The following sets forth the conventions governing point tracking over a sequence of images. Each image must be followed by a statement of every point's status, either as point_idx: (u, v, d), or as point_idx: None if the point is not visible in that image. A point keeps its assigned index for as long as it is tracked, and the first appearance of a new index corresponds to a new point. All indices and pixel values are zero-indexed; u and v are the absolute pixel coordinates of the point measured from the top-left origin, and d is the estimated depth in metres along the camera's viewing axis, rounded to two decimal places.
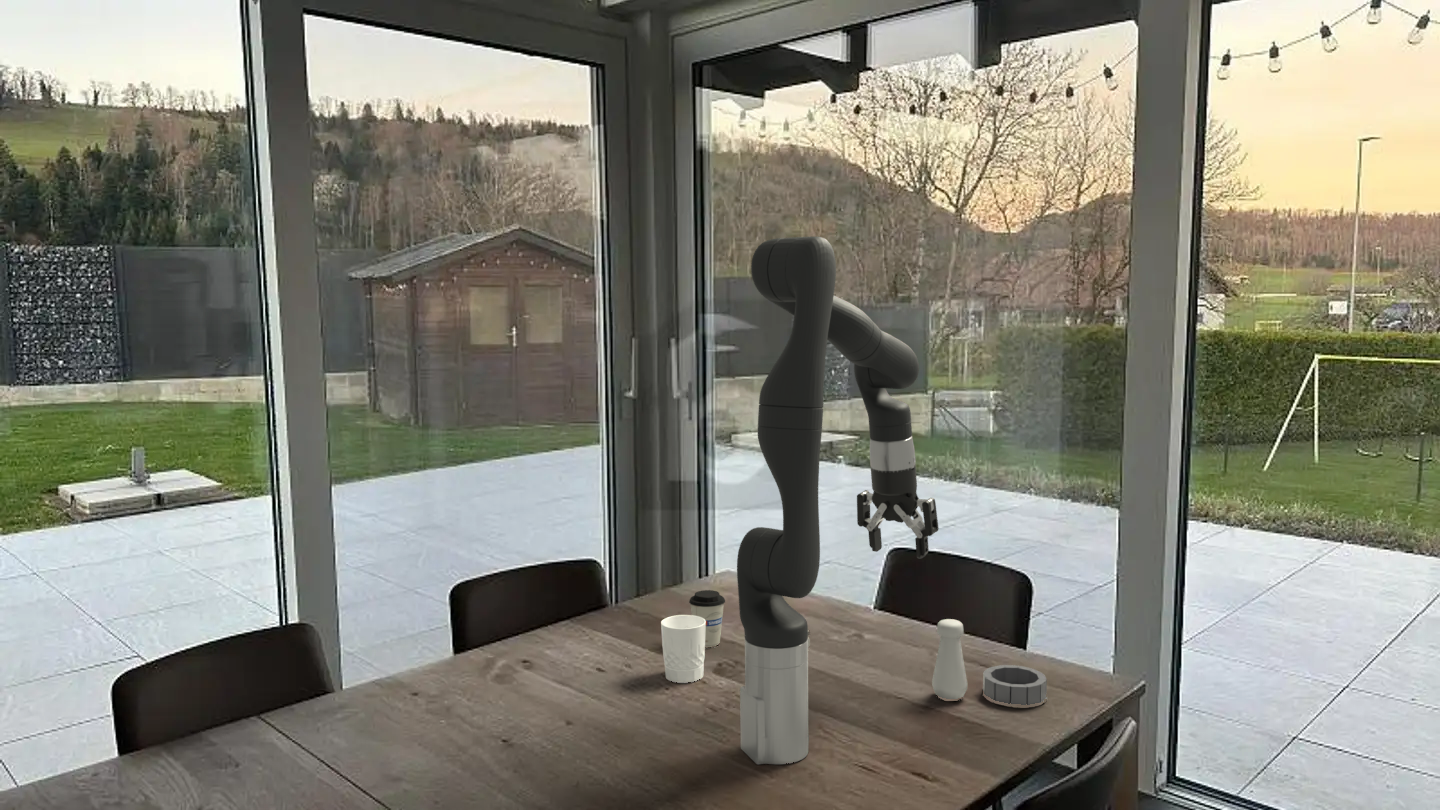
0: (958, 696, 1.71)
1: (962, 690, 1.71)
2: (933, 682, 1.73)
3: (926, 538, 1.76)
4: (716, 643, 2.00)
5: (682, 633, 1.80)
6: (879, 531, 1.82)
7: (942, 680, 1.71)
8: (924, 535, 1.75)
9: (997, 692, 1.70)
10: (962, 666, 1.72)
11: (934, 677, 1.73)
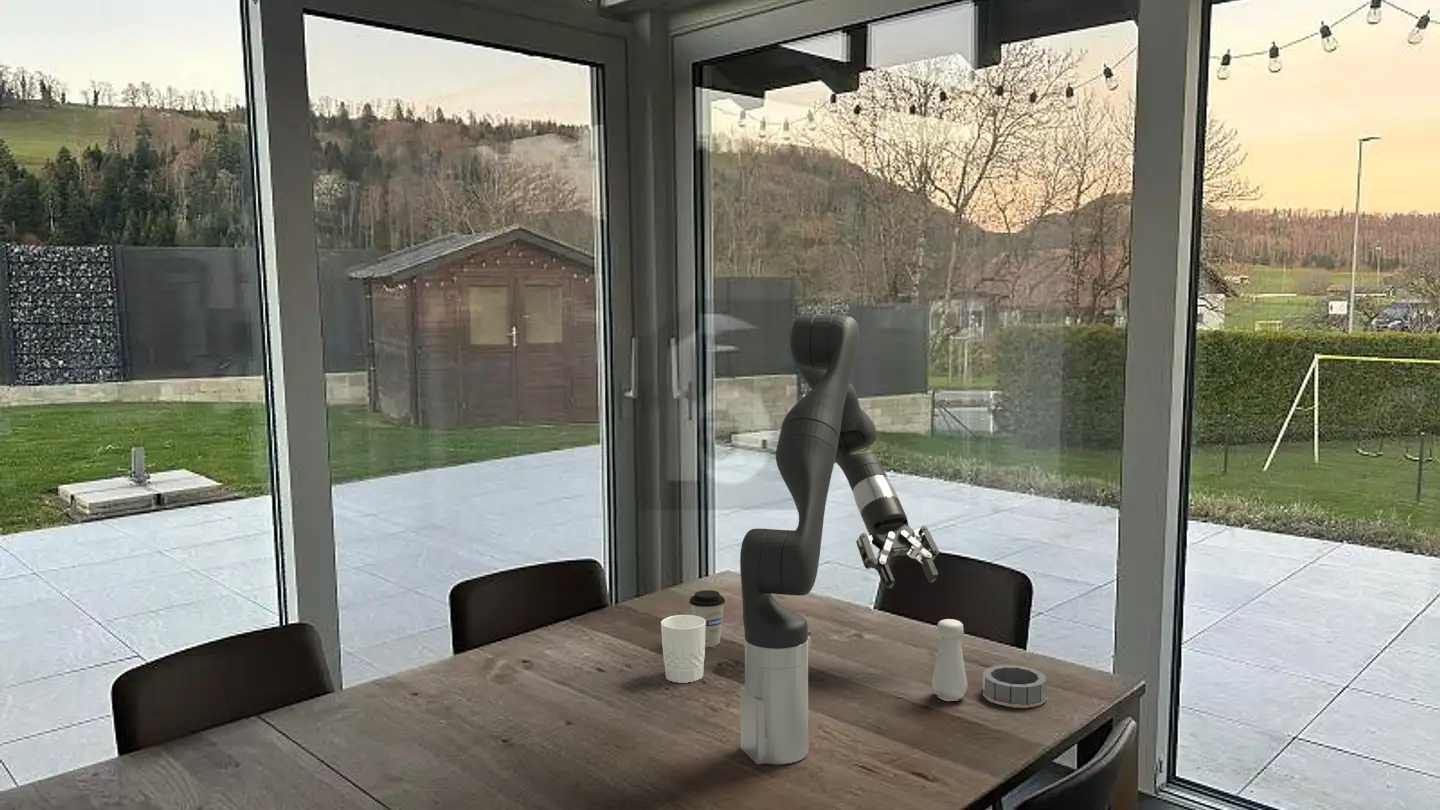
0: (958, 696, 1.71)
1: (962, 690, 1.71)
2: (933, 682, 1.73)
3: None
4: (716, 643, 2.00)
5: (682, 633, 1.80)
6: None
7: (942, 680, 1.71)
8: (931, 556, 1.86)
9: (997, 692, 1.70)
10: (962, 666, 1.72)
11: (934, 677, 1.73)
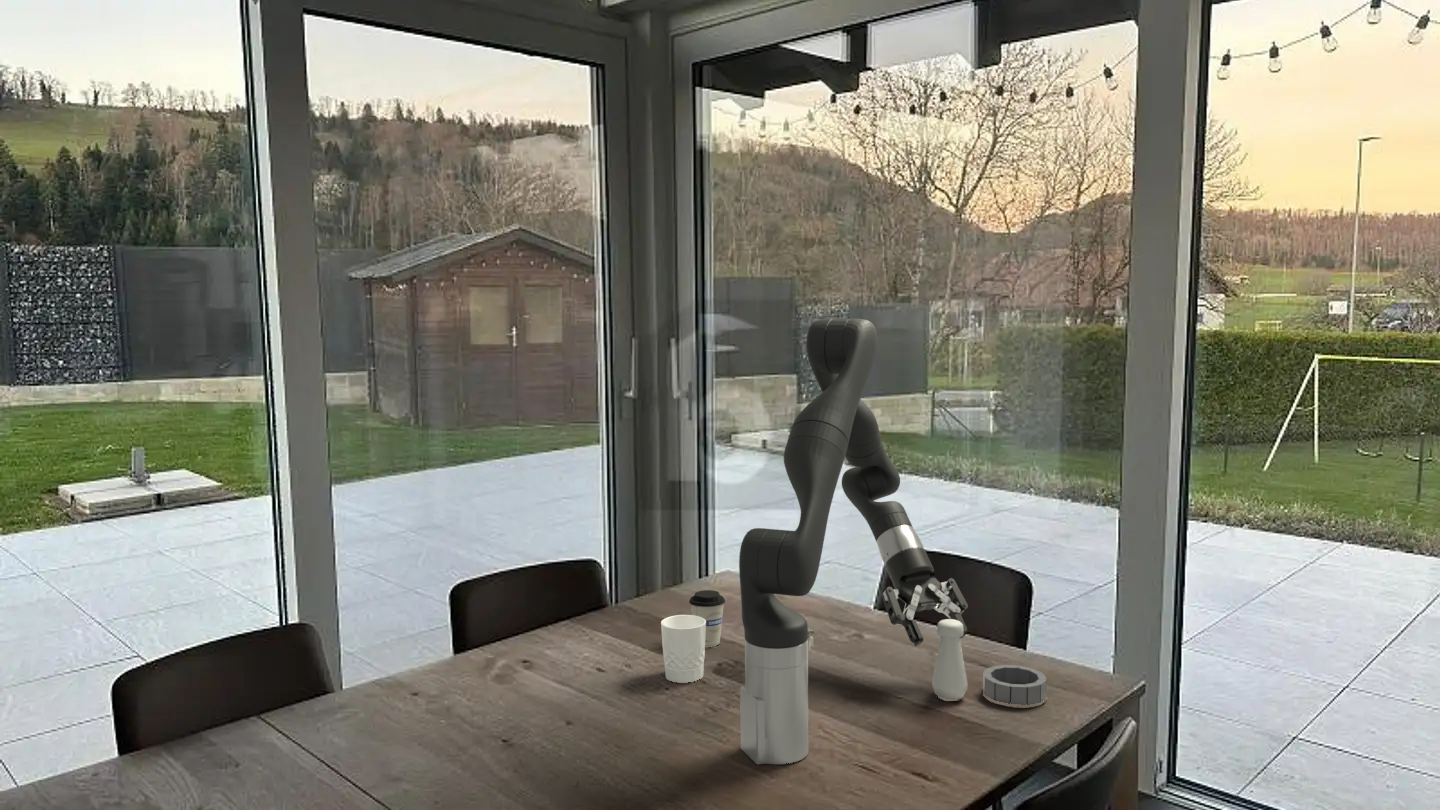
0: (958, 696, 1.71)
1: (962, 690, 1.71)
2: (933, 682, 1.73)
3: None
4: (716, 643, 2.00)
5: (682, 633, 1.80)
6: None
7: (942, 680, 1.71)
8: (960, 611, 1.79)
9: (997, 692, 1.70)
10: (962, 666, 1.72)
11: (934, 677, 1.73)
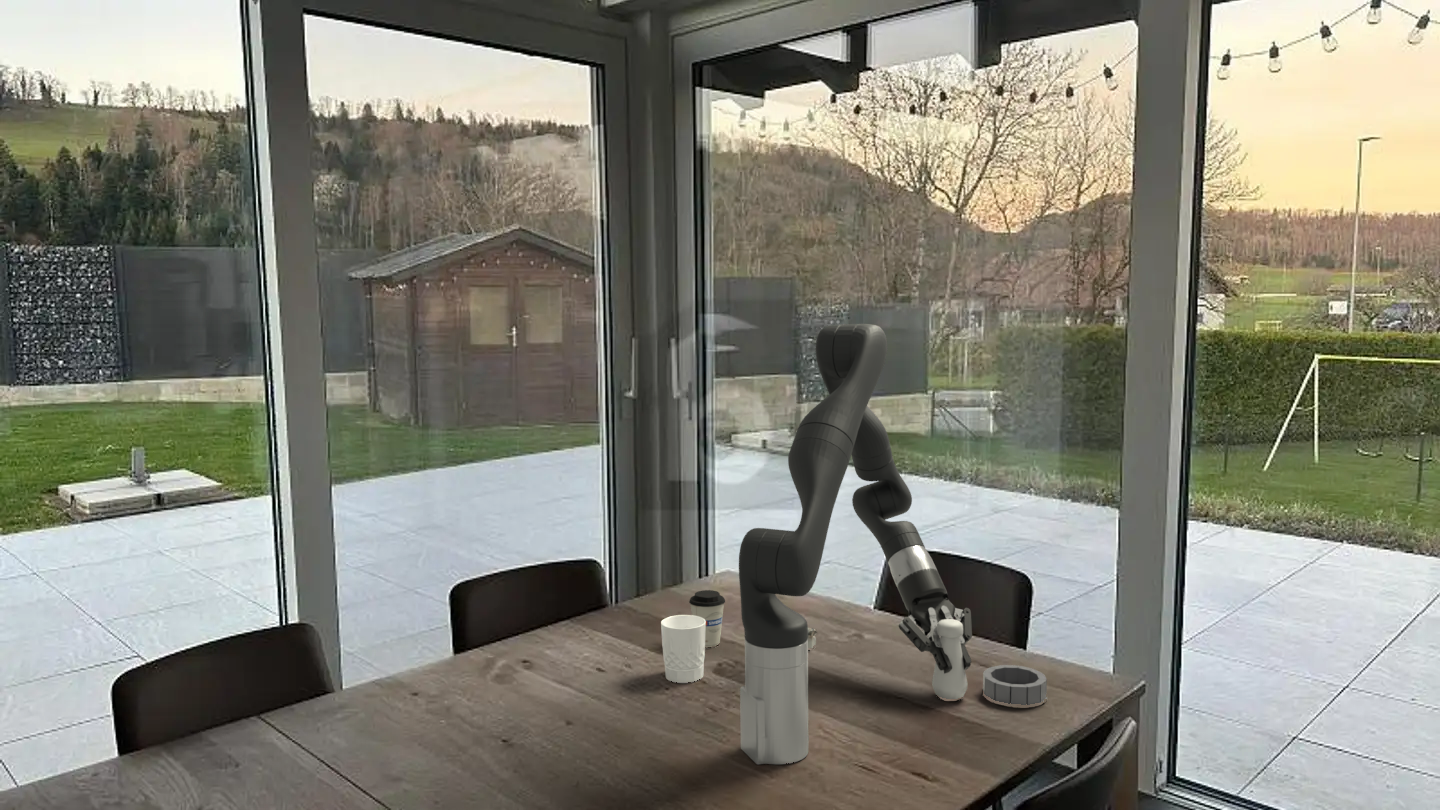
0: (958, 696, 1.71)
1: (962, 690, 1.71)
2: (933, 682, 1.73)
3: None
4: (716, 643, 2.00)
5: (682, 633, 1.80)
6: None
7: (942, 680, 1.71)
8: (964, 641, 1.74)
9: (997, 692, 1.70)
10: (962, 666, 1.72)
11: (934, 677, 1.73)
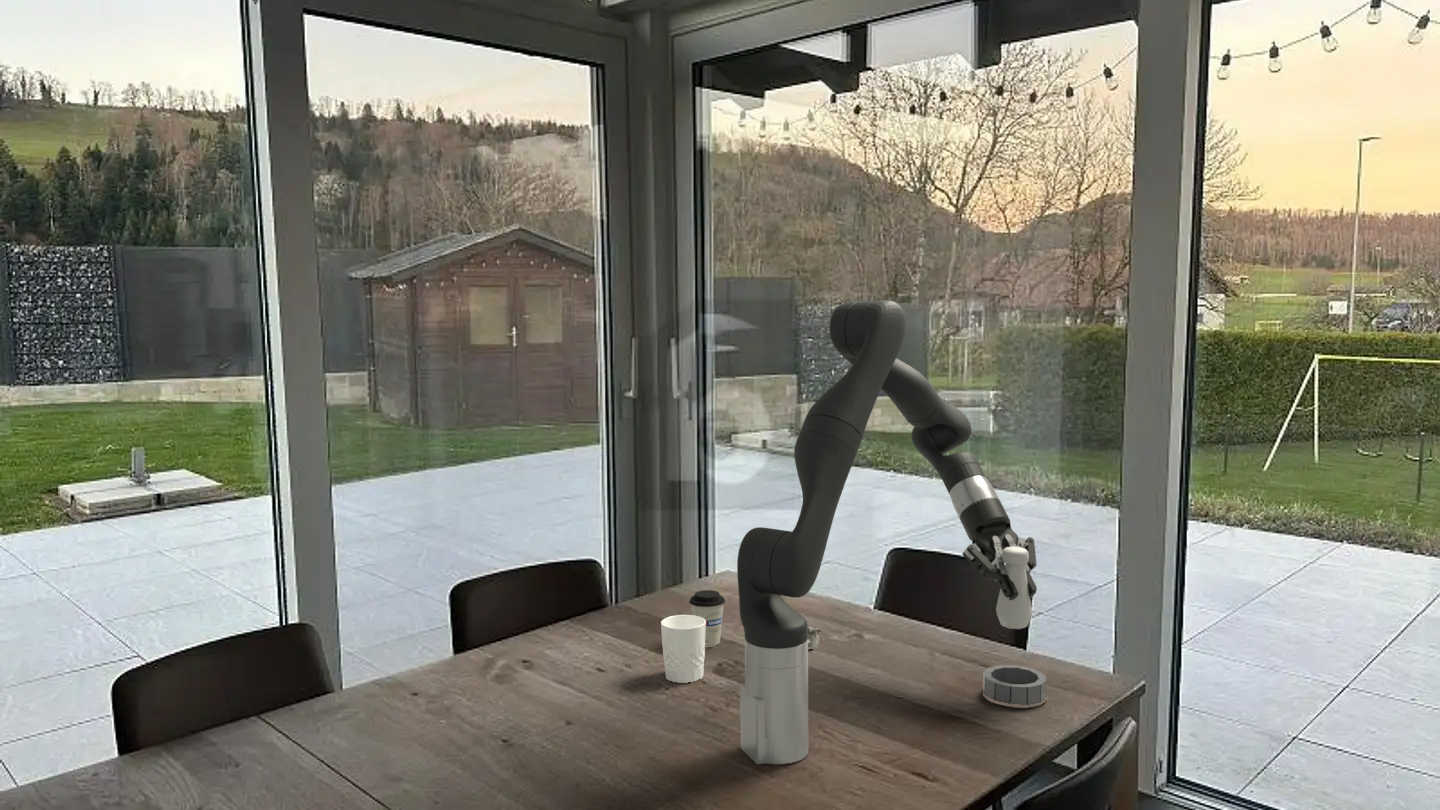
0: (1023, 623, 1.70)
1: (1027, 617, 1.70)
2: (997, 610, 1.72)
3: None
4: (716, 643, 2.00)
5: (682, 633, 1.80)
6: None
7: (1007, 607, 1.70)
8: (1028, 569, 1.73)
9: (997, 692, 1.70)
10: (1027, 593, 1.70)
11: (999, 604, 1.72)
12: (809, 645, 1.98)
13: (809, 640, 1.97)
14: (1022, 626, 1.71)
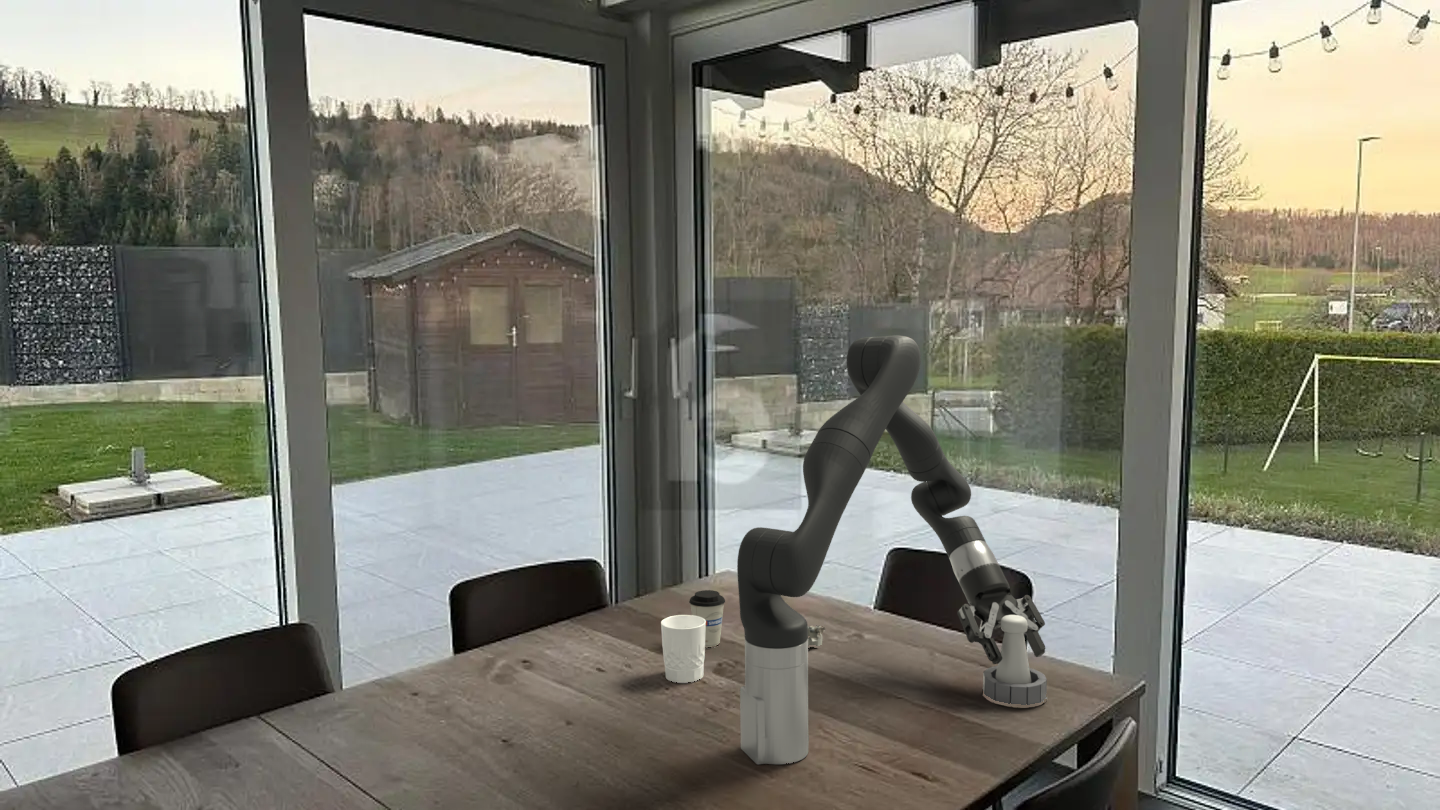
0: None
1: None
2: (997, 678, 1.73)
3: None
4: (716, 643, 2.00)
5: (682, 633, 1.80)
6: None
7: (1006, 676, 1.71)
8: None
9: (997, 692, 1.70)
10: (1026, 662, 1.72)
11: (998, 673, 1.73)
12: (814, 644, 1.98)
13: (814, 639, 1.98)
14: None
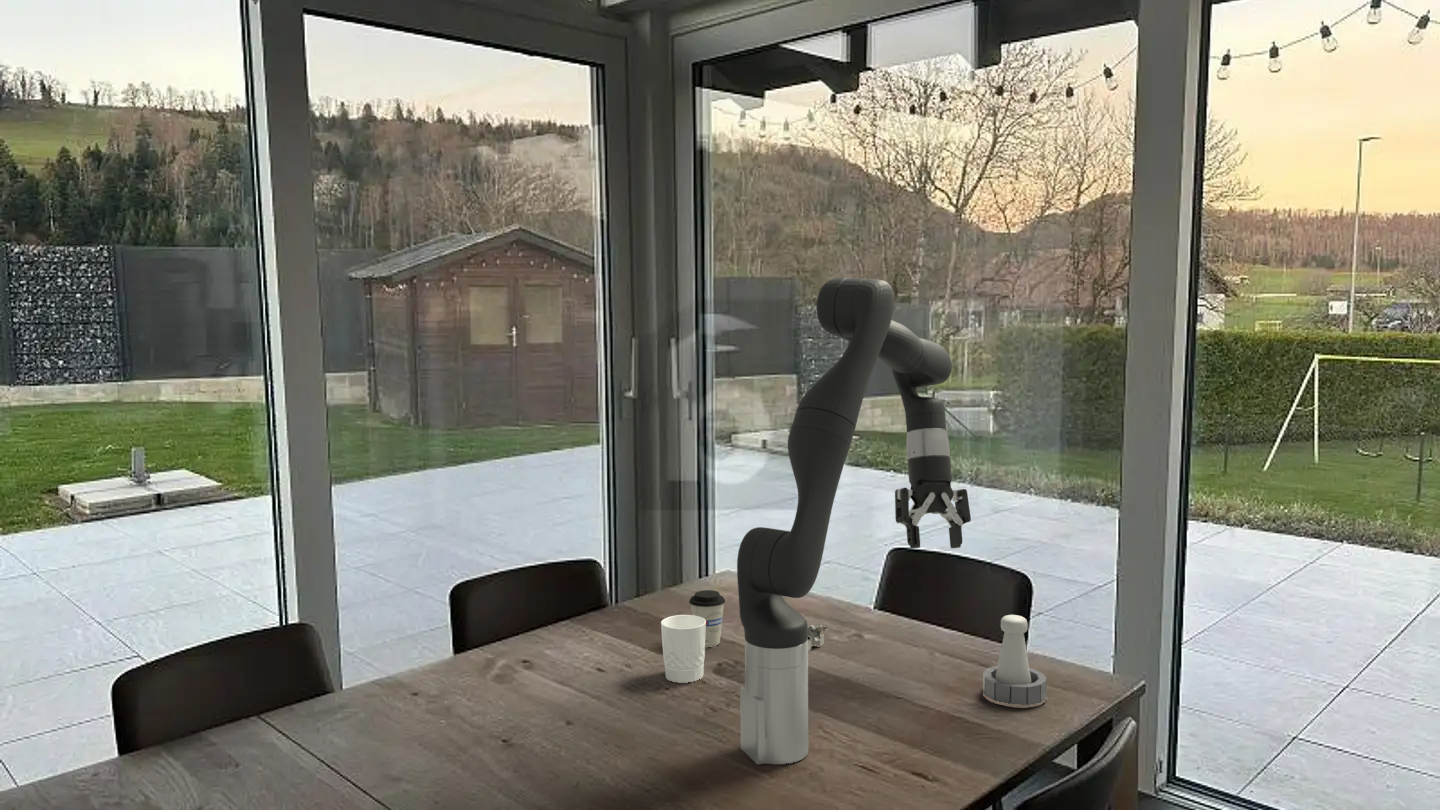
0: None
1: None
2: (997, 678, 1.73)
3: None
4: (716, 643, 2.00)
5: (682, 633, 1.80)
6: None
7: (1006, 676, 1.71)
8: None
9: (997, 692, 1.70)
10: (1026, 662, 1.72)
11: (998, 673, 1.73)
12: (816, 643, 1.99)
13: (817, 638, 1.98)
14: None
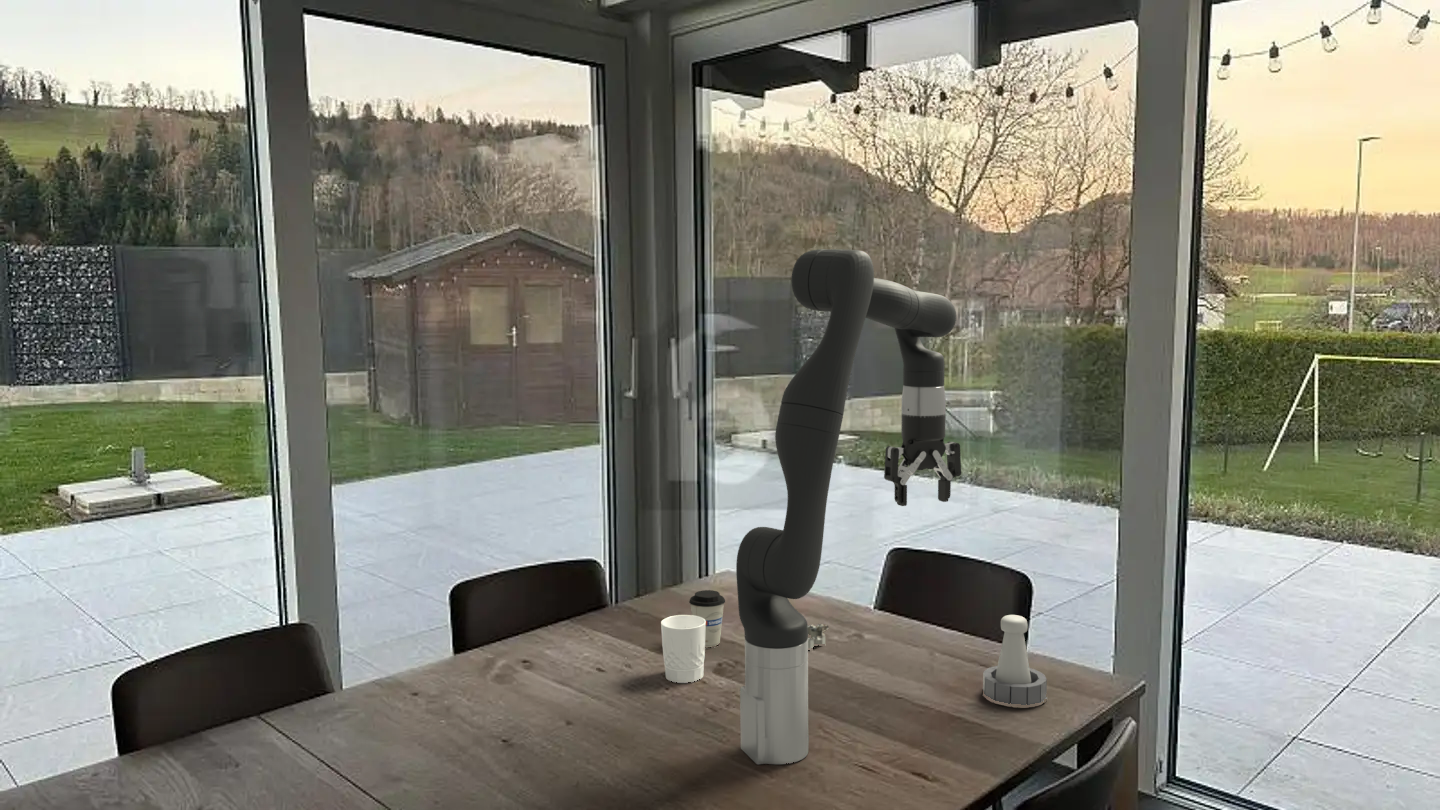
0: None
1: None
2: (997, 678, 1.73)
3: None
4: (716, 643, 2.00)
5: (682, 633, 1.80)
6: None
7: (1006, 676, 1.71)
8: (951, 477, 1.84)
9: (997, 692, 1.70)
10: (1026, 662, 1.72)
11: (998, 673, 1.73)
12: (818, 642, 1.99)
13: (819, 637, 1.99)
14: None
